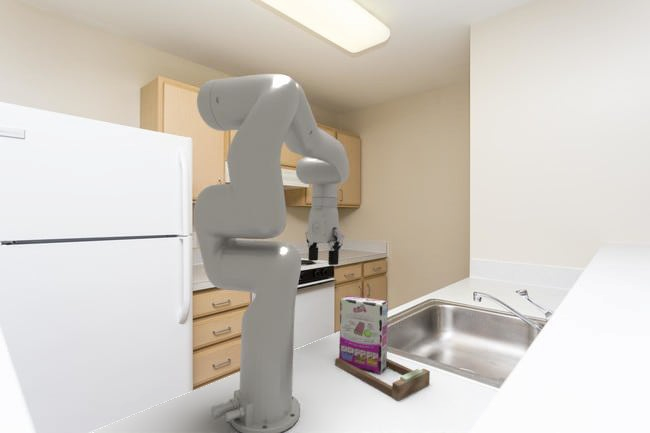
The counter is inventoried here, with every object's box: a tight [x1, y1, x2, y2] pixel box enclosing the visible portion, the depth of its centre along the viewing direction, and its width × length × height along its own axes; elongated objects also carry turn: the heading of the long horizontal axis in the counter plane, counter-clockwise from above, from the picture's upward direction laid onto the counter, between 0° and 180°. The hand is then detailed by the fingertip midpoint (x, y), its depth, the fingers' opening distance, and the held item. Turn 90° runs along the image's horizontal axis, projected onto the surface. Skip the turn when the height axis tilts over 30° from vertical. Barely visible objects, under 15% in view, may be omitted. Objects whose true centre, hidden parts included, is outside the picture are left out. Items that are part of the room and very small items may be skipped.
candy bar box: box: [338, 295, 389, 375], centre depth 80 cm, size 11×5×16 cm, turn 61°
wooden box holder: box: [334, 357, 431, 401], centre depth 76 cm, size 11×20×4 cm, turn 39°
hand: (322, 262), depth 94 cm, fingers open, 9 cm apart
